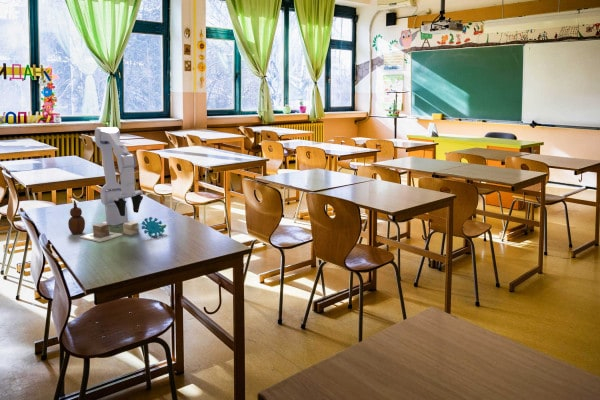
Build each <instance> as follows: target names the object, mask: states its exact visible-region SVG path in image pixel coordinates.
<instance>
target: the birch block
mask: <svg viewBox="0 0 600 400" xmlns="http://www.w3.org/2000/svg"><path fill="white" fill-rule="evenodd" d="M122 226H123V227H122V229H123V234H126V235H131V236H132V235H135V234H139V233H140V230H139V229H140V227H139V226H140V225H139V222H138V221H130V220H129V222H126V223H122Z"/></svg>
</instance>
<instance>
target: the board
mask: <svg viewBox="0 0 600 400" xmlns="http://www.w3.org/2000/svg"><path fill="white" fill-rule="evenodd" d="M122 236H123V233H120V232H113V231H109V235H106V236H103V237H98V236H94V235H93V232H92V233H91V232H90V233H88V234H84V235H80V236H79V239H82V240H87V241H88V240H89V241H93V242H98V243H102V242H105V241H108V240H111V239H116V238H118V237H122Z"/></svg>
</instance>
